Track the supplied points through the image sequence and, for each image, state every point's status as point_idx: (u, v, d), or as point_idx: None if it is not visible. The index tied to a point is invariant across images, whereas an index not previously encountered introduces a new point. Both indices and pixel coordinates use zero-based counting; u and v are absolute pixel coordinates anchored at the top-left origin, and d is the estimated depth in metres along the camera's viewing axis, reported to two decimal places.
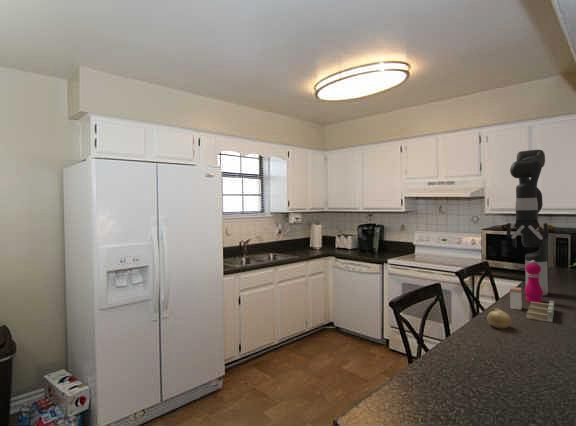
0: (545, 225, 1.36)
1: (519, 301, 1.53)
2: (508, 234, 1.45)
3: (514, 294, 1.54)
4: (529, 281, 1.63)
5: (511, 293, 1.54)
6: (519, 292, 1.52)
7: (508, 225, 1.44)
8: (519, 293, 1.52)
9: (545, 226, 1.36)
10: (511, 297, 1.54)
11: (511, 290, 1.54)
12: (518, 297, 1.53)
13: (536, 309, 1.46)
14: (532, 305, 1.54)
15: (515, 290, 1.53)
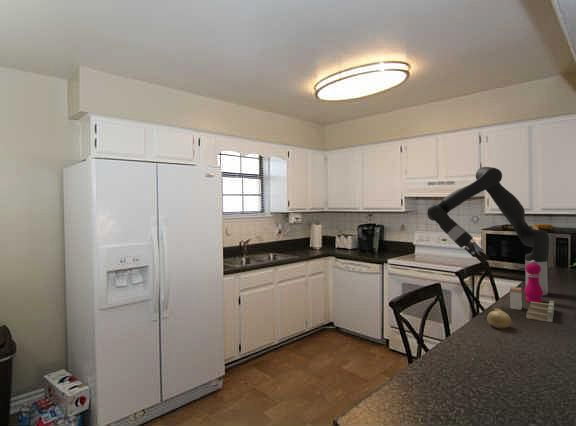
0: None
1: (519, 301, 1.53)
2: None
3: (514, 294, 1.54)
4: (529, 281, 1.63)
5: (511, 293, 1.54)
6: (519, 292, 1.52)
7: None
8: (519, 293, 1.52)
9: None
10: (511, 297, 1.54)
11: (511, 290, 1.54)
12: (518, 297, 1.53)
13: (536, 309, 1.46)
14: (532, 305, 1.54)
15: (515, 290, 1.53)
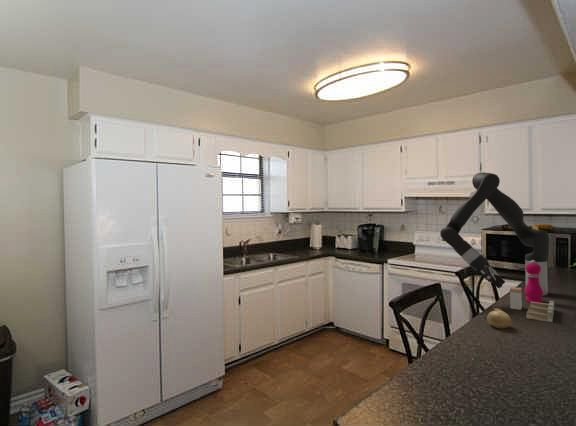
0: None
1: (519, 301, 1.53)
2: None
3: (514, 294, 1.54)
4: (529, 281, 1.63)
5: (511, 293, 1.54)
6: (519, 292, 1.52)
7: None
8: (519, 293, 1.52)
9: None
10: (511, 297, 1.54)
11: (511, 290, 1.54)
12: (518, 297, 1.53)
13: (536, 309, 1.46)
14: (532, 305, 1.54)
15: (515, 290, 1.53)
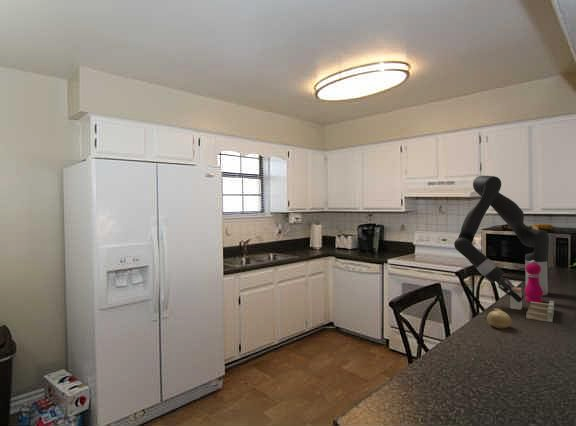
0: None
1: None
2: None
3: None
4: (529, 281, 1.63)
5: None
6: (519, 292, 1.52)
7: None
8: (519, 293, 1.52)
9: None
10: (511, 297, 1.54)
11: None
12: None
13: (536, 309, 1.46)
14: (532, 305, 1.54)
15: (515, 290, 1.53)
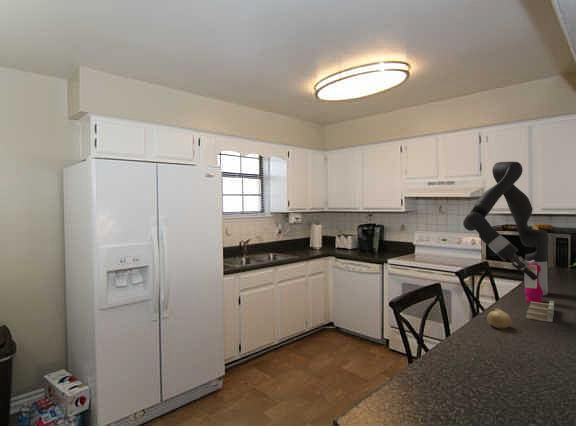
0: None
1: None
2: None
3: None
4: None
5: None
6: (534, 269, 1.42)
7: None
8: (534, 270, 1.42)
9: (514, 265, 1.44)
10: (525, 275, 1.44)
11: None
12: None
13: (536, 309, 1.46)
14: (532, 305, 1.54)
15: (530, 267, 1.43)
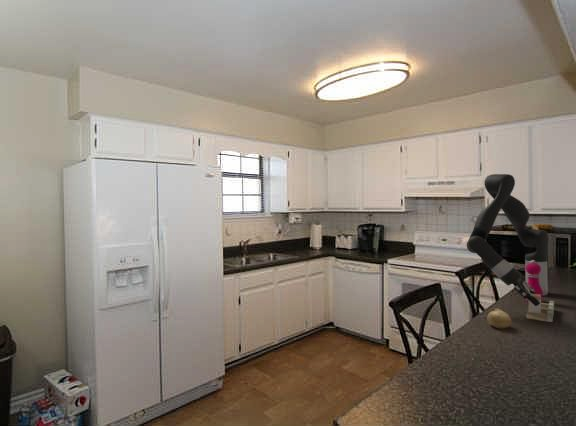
0: None
1: (538, 309, 1.41)
2: None
3: None
4: (529, 281, 1.63)
5: None
6: (538, 299, 1.41)
7: None
8: (538, 300, 1.41)
9: None
10: (530, 304, 1.43)
11: None
12: None
13: None
14: None
15: None
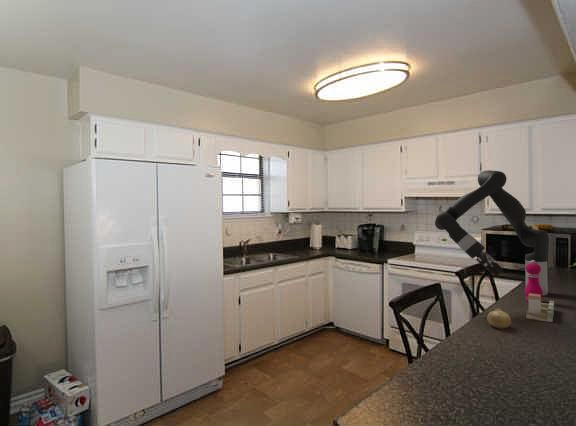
0: None
1: (538, 309, 1.41)
2: None
3: (533, 301, 1.42)
4: (529, 281, 1.63)
5: (530, 300, 1.43)
6: (538, 299, 1.41)
7: None
8: (538, 300, 1.41)
9: None
10: (530, 304, 1.43)
11: (530, 297, 1.43)
12: (537, 304, 1.41)
13: None
14: None
15: (534, 297, 1.42)
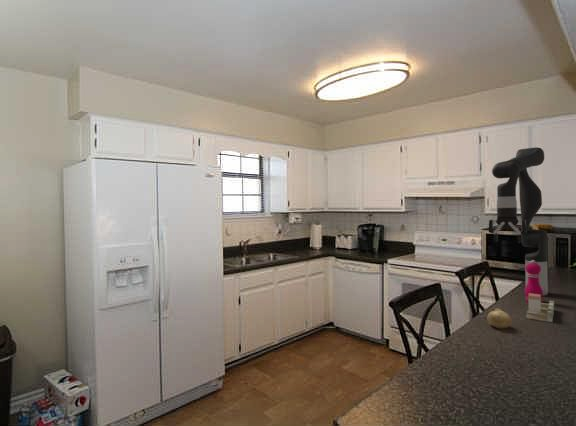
0: (523, 221, 1.48)
1: (538, 309, 1.41)
2: (490, 230, 1.56)
3: (533, 301, 1.42)
4: (529, 281, 1.63)
5: (530, 300, 1.43)
6: (538, 299, 1.41)
7: (490, 221, 1.56)
8: (538, 300, 1.41)
9: (523, 222, 1.48)
10: (530, 304, 1.43)
11: (530, 297, 1.43)
12: (537, 304, 1.41)
13: None
14: None
15: (534, 297, 1.42)
